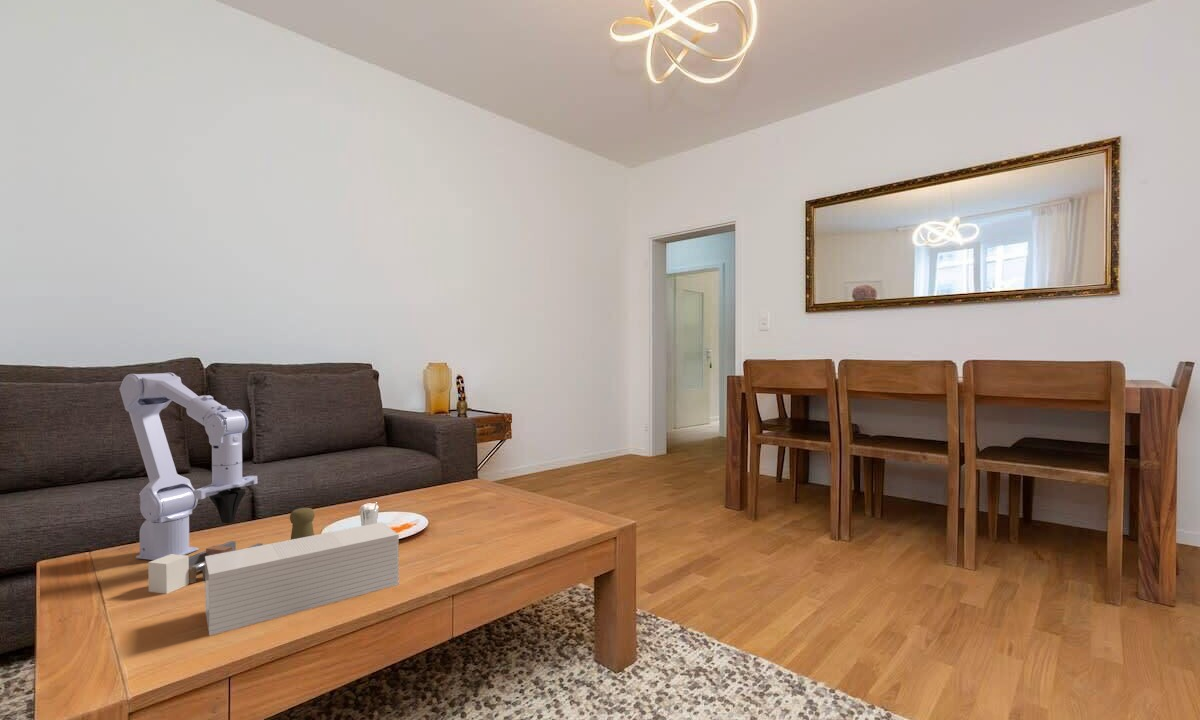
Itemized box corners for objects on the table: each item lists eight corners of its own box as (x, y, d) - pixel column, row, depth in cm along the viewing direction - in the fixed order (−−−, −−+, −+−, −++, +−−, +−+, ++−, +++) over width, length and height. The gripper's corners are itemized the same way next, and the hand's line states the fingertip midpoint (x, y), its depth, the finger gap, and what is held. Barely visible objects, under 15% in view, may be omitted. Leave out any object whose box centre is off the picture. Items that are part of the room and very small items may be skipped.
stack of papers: (382, 569, 120) (382, 521, 120) (398, 585, 112) (398, 534, 112) (205, 613, 100) (204, 556, 100) (209, 637, 92) (208, 574, 92)
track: (173, 576, 116) (173, 562, 116) (231, 553, 130) (231, 540, 130) (207, 580, 114) (207, 566, 114) (262, 556, 128) (262, 543, 128)
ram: (168, 580, 113) (168, 561, 113) (212, 562, 123) (212, 545, 123) (191, 583, 112) (191, 564, 112) (234, 564, 122) (233, 547, 122)
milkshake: (368, 543, 136) (368, 504, 136) (356, 539, 139) (355, 501, 139) (384, 538, 140) (384, 500, 140) (371, 534, 143) (371, 497, 143)
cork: (304, 560, 125) (303, 513, 125) (282, 558, 126) (281, 511, 126) (322, 550, 131) (322, 506, 131) (301, 549, 132) (300, 504, 132)
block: (148, 591, 109) (148, 562, 109) (171, 582, 113) (171, 554, 113) (166, 593, 108) (166, 564, 108) (188, 584, 112) (188, 555, 112)
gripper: (212, 471, 116) (212, 533, 116) (267, 458, 130) (268, 514, 130) (185, 469, 117) (186, 531, 117) (243, 457, 131) (244, 512, 131)
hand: (227, 522), depth 124 cm, fingers closed
